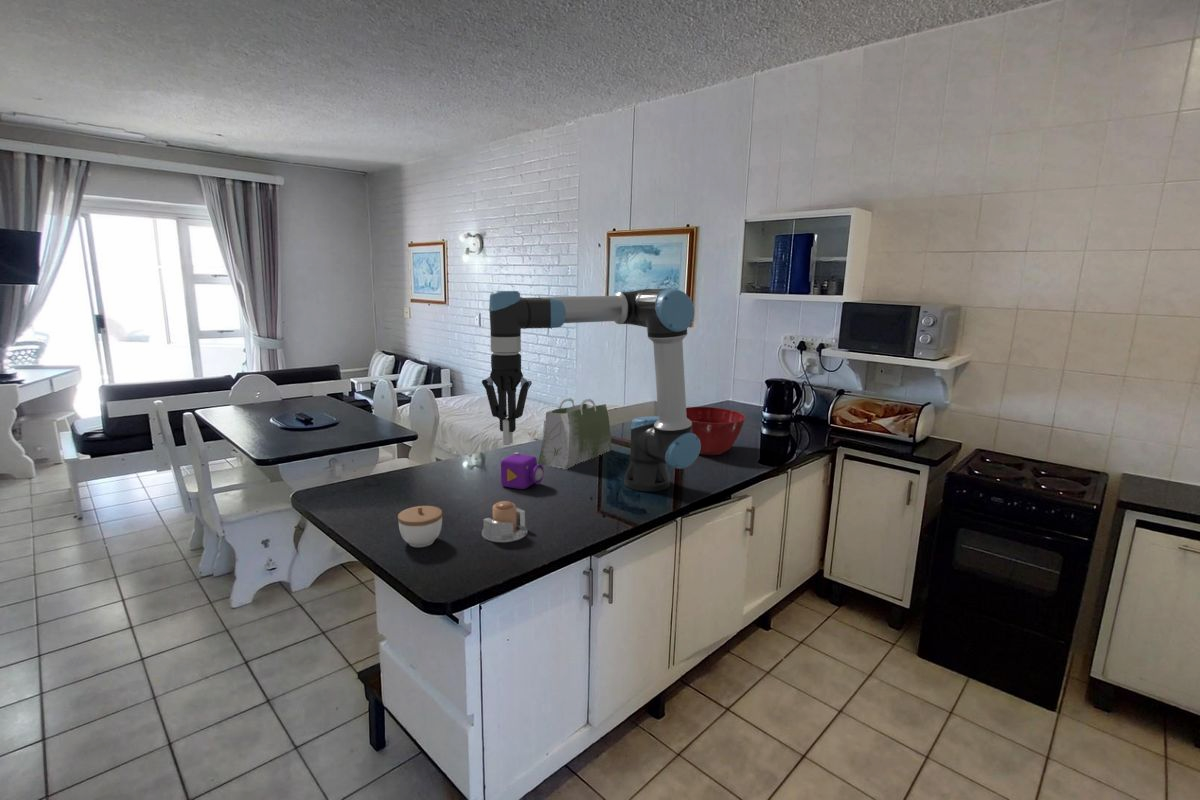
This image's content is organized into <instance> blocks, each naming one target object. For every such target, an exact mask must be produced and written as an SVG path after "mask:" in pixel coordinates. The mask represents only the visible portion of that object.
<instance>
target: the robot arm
mask: <svg viewBox="0 0 1200 800" xmlns="http://www.w3.org/2000/svg"><path fill="white" fill-rule="evenodd" d="M488 305H489V308H488V312H489V326H490V331H489V332H490V352H491V355H490V364H491V365H490V368H491V372H490V374H489V376H488V377H487V378H485V379H482V380H481V384H482V386H483V387H484V389H485V392H486V396H487V400H488V404H489V409H490V411H491V416H492V417H494V418H498V419H499V430H500V432H502V438H503V439H502V445H503V446H510V445H511V444H513V443H514V441H513V440H514V439H513V434H514V432H515V431H516V425H517V424H516V421H517V420H516V419H519V418H521V417H522V416H523V415H524V409H525V406H526V402H527V397H528V392H529V388H530V387H531V386H532V384H533V383H532V382H533V381H531V380H528V379H526V378H525V377H524V374H523V373H522V355H521V353H520V352H521V351H522V343H521V342H522V336H521V335H522V333H521V331H522V330H527V329H550V330H552V329H554V328H556V329H558V328H561V327H562V326H564V324H577V323H580V324H581V323H603V322H604V323H605V322H614V323H615V324H617V325H633V326H637V327H644V328H646V332H647V338H648V339H649V340H650V341H651V342H652V343H653V344H652V345H653V356H654V371H655V386H656V402H657V415H650V416H639V417H635V418H633V419H632V421H631V426H630V457H629V458H630V461H629V464H628V466H627V469H626V471H625V473H624V474H625V475H624V481H623V482H624V486H626V487H627V488H629V489H631V490H635V491H638V492H639V491H640V492H661V491H663V490H666V489H668V488H669V487H670V480H671V478H670V475H669V472H668V469H667V466H668V467H671V468H675V469H679V470H682V469H686V468H688V467H690V466H692V465H693V464H694V463H695V462H696V460H697V459H698V458H699V455H700V454H699V453H700V449H701V443H700V440H699V438H698V437H697V436H696V435H695V434H693V433H692V422H691V421H690V420H689V419H688V418H687V415H686V408H687V400H686V397H687V396H686V381H685V378H686V377H685V366H684V365H685V364H684V363H685V362H684V348H683V347H684V345H683V344H684V342H683V341H684V339H685V338H686V336H688V328H689V327H690V326H691V325H692V322H693V321H694V319H695V307H694V303H693V301H692V299H691V297H690V296H689V295H688V294H686V292H684V291H682V290H679V289H673V288H644V289H638V290H632V291H631V290H630V291H622V292H621V291H620V292H619V291H617V292H616V293H614V294H613V295H592V296H591V295H590V296H589V295H586V296H584V295H583V296H546V297H545V296H541V297H540V296H539V297H522V296H521V293H520V291H518V290H493V291H491V292H490V295H489V304H488ZM494 385H495V386H494ZM519 385H520V390H519V393H518V397H517V395H516V394H517V387H518V386H519ZM495 387H496V389H497V391H496V389H495ZM496 393H497V394H496ZM517 398H518V399H517Z"/></svg>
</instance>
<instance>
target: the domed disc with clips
mask: <svg viewBox="0 0 1200 800" xmlns="http://www.w3.org/2000/svg"><path fill="white" fill-rule="evenodd" d="M527 535H528V527H527V526H526V511H525V510H523V509H521V508H519V507H516V532H515V533H514V534H513V522H512V521H494V520H493V518H491V517H486V518H483V528H482V530H481V537H482V538H483V539H484V540H486V541H488V542H491V543H497V544H499V543H500V544H505V543H513V542H516V541H517V542H518V541H520V540H522V539H524V538H525V537H526V536H527Z"/></svg>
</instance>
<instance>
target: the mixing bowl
mask: <svg viewBox="0 0 1200 800" xmlns="http://www.w3.org/2000/svg"><path fill="white" fill-rule="evenodd" d="M686 415H687V418H688V419H689V420H690V421H691V422H692V433H693V434H695V435H696V436H697V437H698V438H699V440H700V443H701V449H700V453H699V455H703V456H704V455H705V456H719V455H723V454H724V453H726V452H727V451H729V450H730V449H731V448H732V447H733V445H734V444H735V442H736V440H737V438H738V437H739V435H740V433H741V431H742V427H743V425H744V422H745V420H746V415H745V414H743V413H742V412H739V411H738V410H737V411H736V410H733V409H727V408H724V407H723V408H721V407H714V406H713V407H712V406H686Z"/></svg>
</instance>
